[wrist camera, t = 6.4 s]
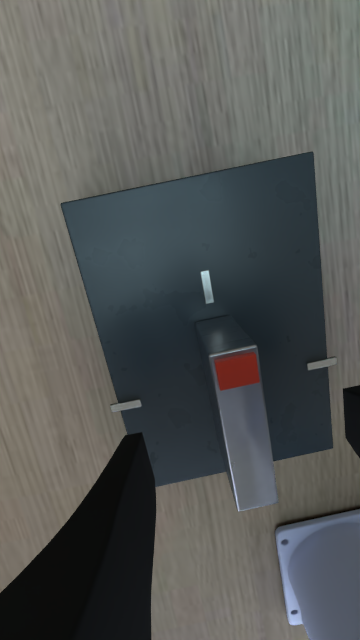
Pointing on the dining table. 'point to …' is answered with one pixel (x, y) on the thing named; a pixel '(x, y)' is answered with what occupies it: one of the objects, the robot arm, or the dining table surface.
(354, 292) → the dining table surface
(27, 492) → the dining table surface
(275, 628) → the dining table surface
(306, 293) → the plate
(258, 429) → the tap handle
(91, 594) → the robot arm
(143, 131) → the dining table surface
